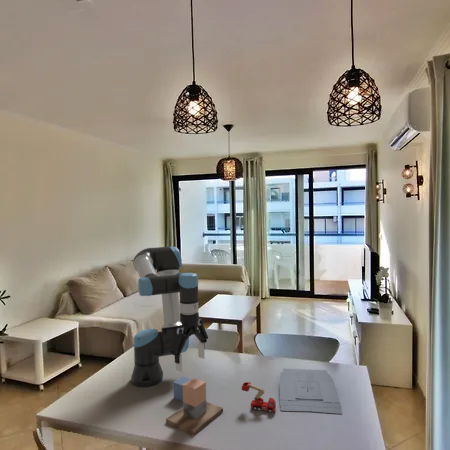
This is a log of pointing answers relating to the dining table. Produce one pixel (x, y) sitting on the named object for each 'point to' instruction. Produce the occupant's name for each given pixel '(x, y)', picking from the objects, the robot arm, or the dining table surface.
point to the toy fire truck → (260, 399)
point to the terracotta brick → (194, 392)
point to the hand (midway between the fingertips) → (190, 363)
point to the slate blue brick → (179, 387)
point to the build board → (194, 423)
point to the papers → (308, 391)
